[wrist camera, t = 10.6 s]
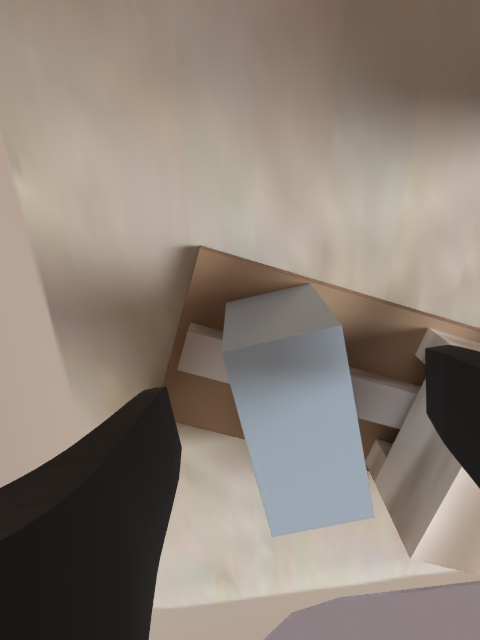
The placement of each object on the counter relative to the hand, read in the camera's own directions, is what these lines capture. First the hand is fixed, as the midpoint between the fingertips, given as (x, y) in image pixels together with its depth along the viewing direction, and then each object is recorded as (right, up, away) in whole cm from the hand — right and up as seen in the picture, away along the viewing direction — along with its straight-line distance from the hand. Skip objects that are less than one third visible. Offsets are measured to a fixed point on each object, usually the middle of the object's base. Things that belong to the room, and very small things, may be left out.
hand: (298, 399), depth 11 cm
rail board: (+3, -1, +10) cm, 11 cm away
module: (+1, 0, +9) cm, 9 cm away
